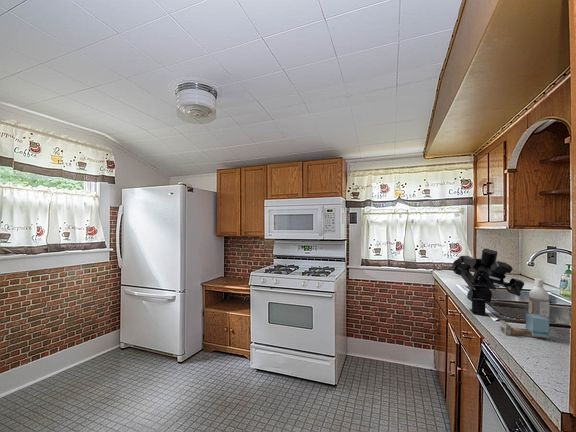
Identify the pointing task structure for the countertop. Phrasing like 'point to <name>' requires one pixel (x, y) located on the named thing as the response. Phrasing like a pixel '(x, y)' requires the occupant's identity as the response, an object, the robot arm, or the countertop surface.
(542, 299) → the bath foam
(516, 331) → the rail
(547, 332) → the block
